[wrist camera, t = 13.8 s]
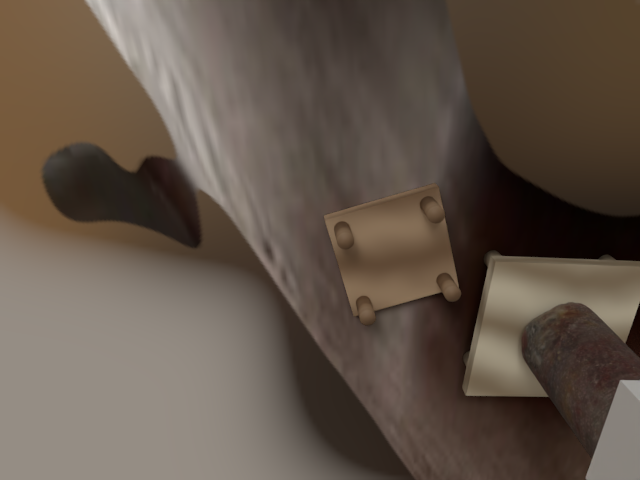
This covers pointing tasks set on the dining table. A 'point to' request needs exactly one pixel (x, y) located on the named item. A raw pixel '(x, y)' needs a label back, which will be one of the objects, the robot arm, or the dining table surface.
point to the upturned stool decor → (393, 251)
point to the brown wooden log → (578, 366)
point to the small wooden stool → (540, 312)
